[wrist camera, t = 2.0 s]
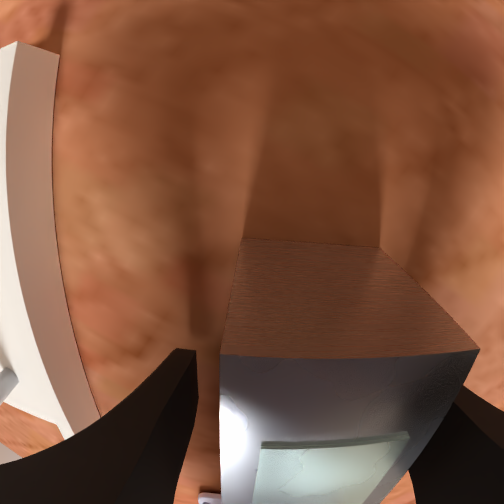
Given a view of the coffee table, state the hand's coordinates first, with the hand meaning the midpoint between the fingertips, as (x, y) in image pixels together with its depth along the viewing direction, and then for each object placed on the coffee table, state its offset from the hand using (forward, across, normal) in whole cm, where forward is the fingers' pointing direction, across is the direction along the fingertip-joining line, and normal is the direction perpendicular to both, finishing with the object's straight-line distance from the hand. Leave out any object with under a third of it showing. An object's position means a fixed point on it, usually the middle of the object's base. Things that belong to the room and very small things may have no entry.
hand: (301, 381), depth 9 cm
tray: (+1, +15, -2) cm, 15 cm away
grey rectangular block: (+2, 0, 0) cm, 2 cm away
